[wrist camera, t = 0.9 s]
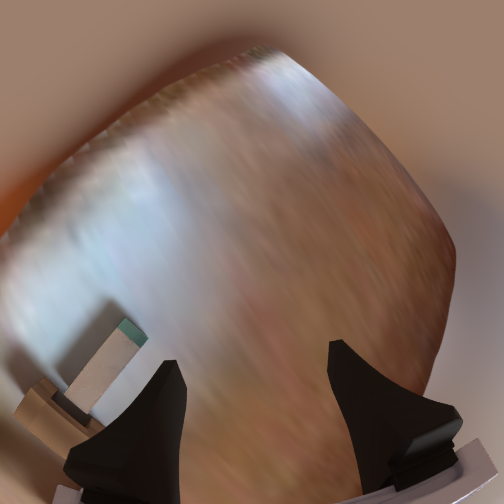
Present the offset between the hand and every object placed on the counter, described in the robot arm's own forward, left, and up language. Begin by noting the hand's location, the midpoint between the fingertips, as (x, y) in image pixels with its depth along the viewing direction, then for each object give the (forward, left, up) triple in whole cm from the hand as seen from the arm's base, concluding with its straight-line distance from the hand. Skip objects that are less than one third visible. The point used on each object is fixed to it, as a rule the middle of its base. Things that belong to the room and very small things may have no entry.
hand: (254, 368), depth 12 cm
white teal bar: (-7, +5, -17) cm, 19 cm away
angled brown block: (-15, +5, -17) cm, 23 cm away
